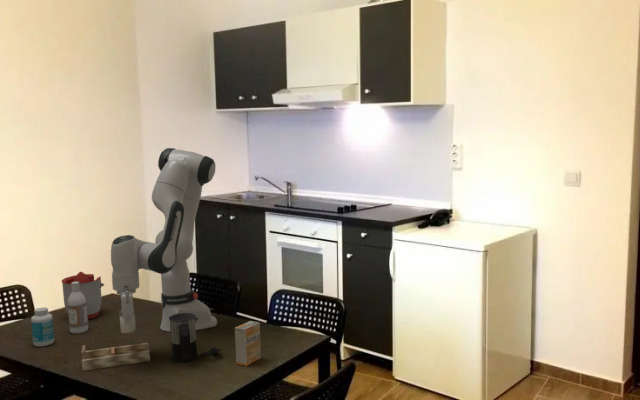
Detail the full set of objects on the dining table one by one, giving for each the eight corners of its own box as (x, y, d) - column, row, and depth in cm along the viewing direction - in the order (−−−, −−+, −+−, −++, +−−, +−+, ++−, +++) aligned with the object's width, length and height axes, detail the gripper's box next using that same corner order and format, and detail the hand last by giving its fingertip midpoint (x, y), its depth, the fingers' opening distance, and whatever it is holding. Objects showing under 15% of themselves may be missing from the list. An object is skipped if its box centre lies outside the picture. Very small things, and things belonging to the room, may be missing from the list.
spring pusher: (114, 354, 218) (114, 346, 218) (115, 361, 212) (114, 352, 212) (111, 355, 218) (111, 347, 218) (112, 361, 212) (111, 353, 212)
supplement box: (247, 367, 207) (245, 329, 206) (235, 364, 210) (234, 327, 208) (262, 358, 214) (260, 322, 213) (251, 356, 217) (249, 320, 215)
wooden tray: (148, 352, 223) (147, 336, 222) (150, 361, 215) (149, 344, 214) (83, 361, 216) (82, 344, 216) (82, 370, 208) (81, 353, 207)
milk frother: (167, 356, 219) (164, 316, 217) (207, 346, 228) (205, 307, 226) (183, 369, 207) (181, 326, 205) (225, 357, 216) (223, 316, 214)
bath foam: (66, 333, 246) (61, 284, 243) (77, 327, 252) (73, 279, 250) (80, 334, 244) (76, 285, 241) (92, 328, 250) (88, 280, 248)
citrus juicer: (114, 314, 268) (110, 269, 265) (76, 325, 255) (72, 278, 252) (95, 308, 278) (92, 264, 275) (58, 318, 265) (54, 272, 263)
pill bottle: (46, 347, 230) (43, 312, 229) (29, 346, 232) (25, 311, 230) (58, 340, 238) (55, 306, 236) (41, 339, 239) (38, 305, 237)
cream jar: (135, 327, 219) (134, 308, 218) (136, 332, 214) (135, 312, 213) (120, 329, 217) (119, 309, 216) (120, 333, 212) (119, 314, 211)
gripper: (136, 289, 205) (138, 330, 206) (134, 275, 224) (136, 312, 226) (116, 291, 203) (119, 332, 204) (115, 277, 222) (118, 314, 224)
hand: (128, 321), depth 215 cm, fingers closed on cream jar, 5 cm apart
